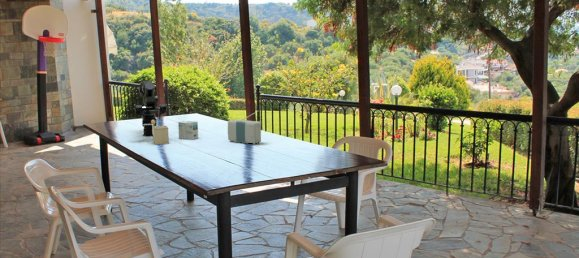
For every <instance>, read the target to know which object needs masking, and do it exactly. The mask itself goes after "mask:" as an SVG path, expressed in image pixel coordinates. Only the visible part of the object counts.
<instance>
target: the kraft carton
mask: <svg viewBox="0 0 579 258" xmlns="http://www.w3.org/2000/svg"><path fill="white" fill-rule="evenodd" d="M152 136H153V135H152ZM153 143H154V145H166V144H169V143H170V142H169V127H168V126H167V125H157V126H154V136H153Z"/></svg>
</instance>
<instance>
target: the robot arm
mask: <svg viewBox="0 0 579 258" xmlns="http://www.w3.org/2000/svg"><path fill="white" fill-rule="evenodd" d="M138 86H139V87H138V93H139V94H140V97H141V98H142V99H143V106H142V104H136V105H134V106H135V107H134V111H135V112H134V113H135V115H138V116H140V117H141V119H142V120H141V121H142V122H141V125H142V127H143V134H142V136H145V137H146V136H147V137H152V136H153V134H152V123H151V120H155V122H156V123H155V124H154V126H158V124H157V123H158V120H159V121H160V120H161V118H162V116H163V115H164V114H165V113H167V105H166V103H163V104H161V103H159V106H156V102H159V96H158V95H154V94H155V91H156V90H157V86H155V84H154V83H152V81H150V80H147V79H143V80H141V83H140V84H139V85H138ZM154 111H159V112H158V113H159V114H158V120H157V118H156V116H155V112H154Z"/></svg>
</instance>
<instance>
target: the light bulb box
mask: <svg viewBox="0 0 579 258" xmlns="http://www.w3.org/2000/svg"><path fill="white" fill-rule="evenodd" d="M177 123H178V125H177V126H178V127H177V128H178V139H179V140H195V139H199V123H198V121H190V120H189V121H188V120H182V121H178V122H177Z"/></svg>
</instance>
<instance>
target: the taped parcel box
mask: <svg viewBox="0 0 579 258" xmlns="http://www.w3.org/2000/svg"><path fill="white" fill-rule="evenodd" d="M258 112H259V110H257V111H255V112H254V113H251V114H250V115H248V116H246V117H244V118H242V119H231V120H227V140H228V141H229V142H231V141H233V142H235V143H240V142H242V144H248V143H253V144H252V145H254V144H255V143H257V144H259V143H258V142H260V143H261V141H262V127H261V126H262V122H261V121H255V120H246V119H247V118H250V117H251V116H252V115H255V113H258ZM233 142H232V143H233ZM255 145H256V144H255Z"/></svg>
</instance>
